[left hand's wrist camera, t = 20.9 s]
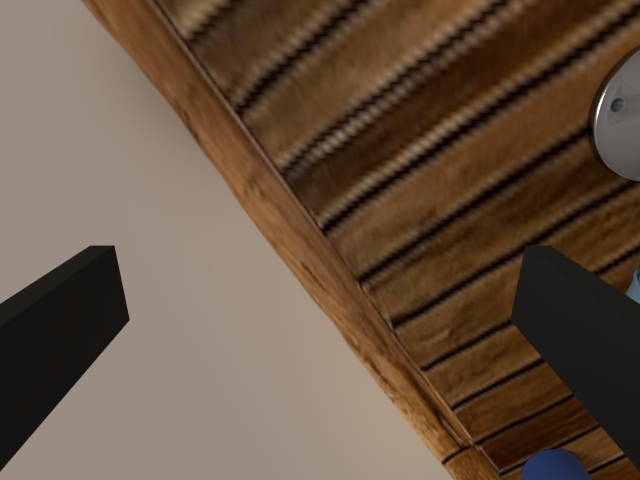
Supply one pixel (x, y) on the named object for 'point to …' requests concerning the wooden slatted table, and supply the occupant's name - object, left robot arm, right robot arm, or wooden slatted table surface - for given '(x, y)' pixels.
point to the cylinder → (554, 466)
